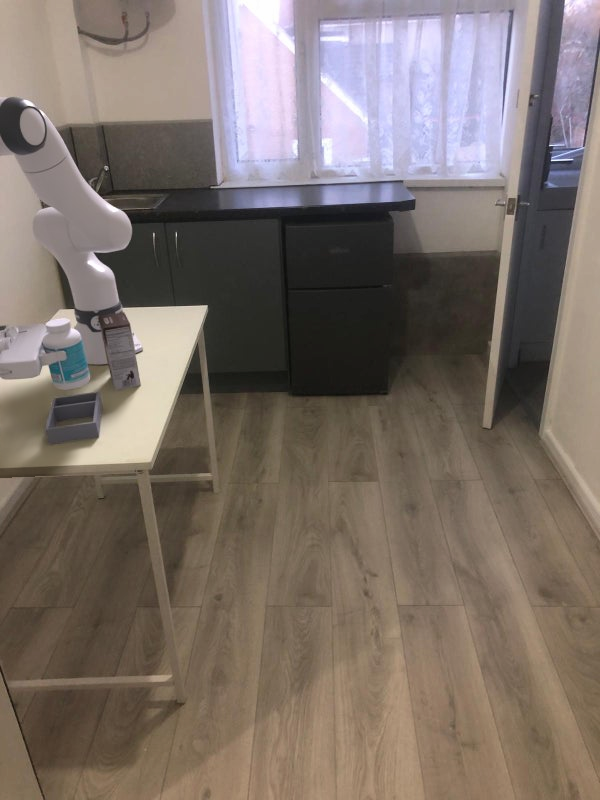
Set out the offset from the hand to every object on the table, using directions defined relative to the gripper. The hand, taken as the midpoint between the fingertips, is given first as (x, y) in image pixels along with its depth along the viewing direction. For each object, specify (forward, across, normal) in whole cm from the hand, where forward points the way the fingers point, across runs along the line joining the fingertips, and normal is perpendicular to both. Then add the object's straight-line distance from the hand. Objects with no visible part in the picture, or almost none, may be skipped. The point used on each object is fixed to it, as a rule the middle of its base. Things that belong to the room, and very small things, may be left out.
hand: (68, 345), depth 130 cm
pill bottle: (-1, 0, +8) cm, 8 cm away
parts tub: (-2, +2, +19) cm, 19 cm away
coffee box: (+8, +21, +19) cm, 29 cm away
